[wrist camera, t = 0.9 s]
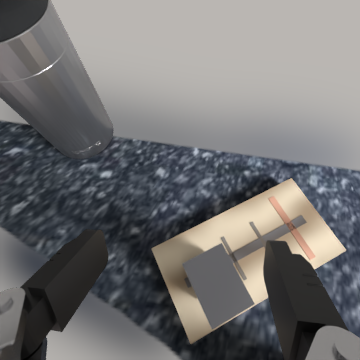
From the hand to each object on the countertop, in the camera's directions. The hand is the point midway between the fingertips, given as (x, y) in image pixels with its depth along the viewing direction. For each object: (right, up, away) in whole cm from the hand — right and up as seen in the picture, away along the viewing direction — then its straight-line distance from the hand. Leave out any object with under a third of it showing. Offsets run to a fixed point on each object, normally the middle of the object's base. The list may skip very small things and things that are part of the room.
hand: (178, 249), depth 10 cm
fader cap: (+2, -7, +12) cm, 14 cm away
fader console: (+8, -6, +16) cm, 19 cm away
